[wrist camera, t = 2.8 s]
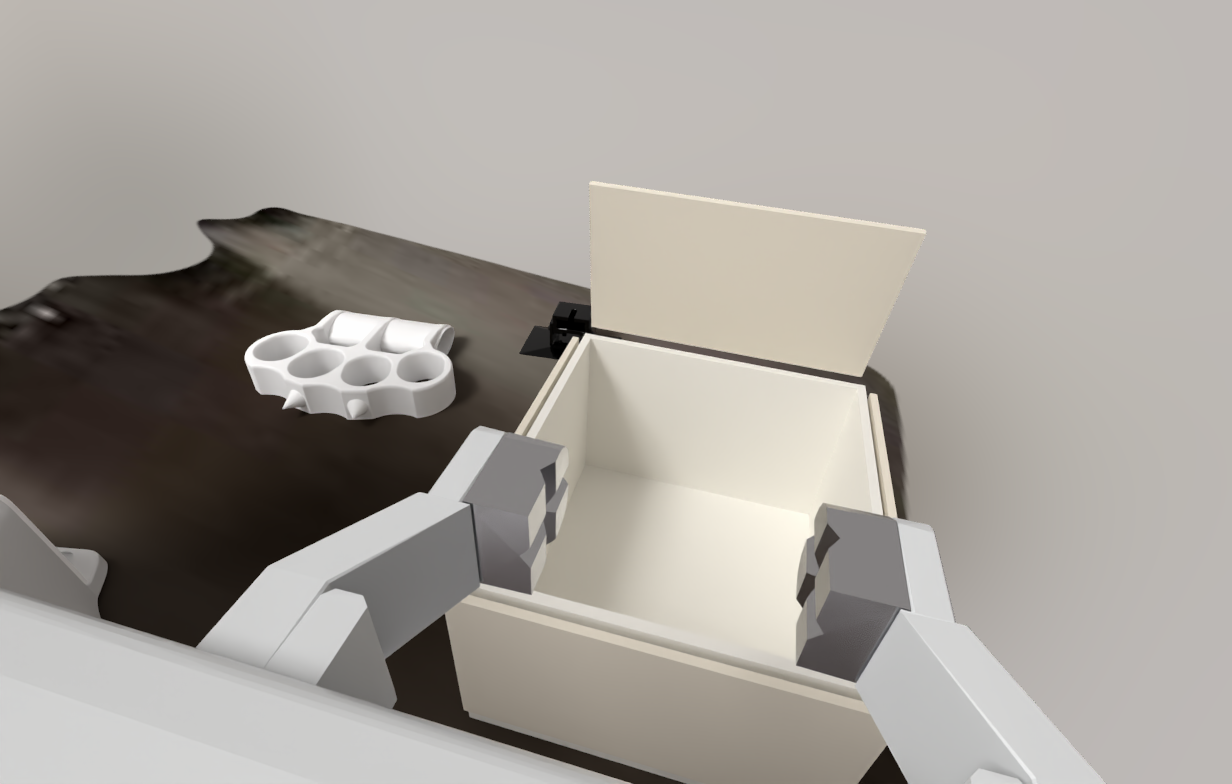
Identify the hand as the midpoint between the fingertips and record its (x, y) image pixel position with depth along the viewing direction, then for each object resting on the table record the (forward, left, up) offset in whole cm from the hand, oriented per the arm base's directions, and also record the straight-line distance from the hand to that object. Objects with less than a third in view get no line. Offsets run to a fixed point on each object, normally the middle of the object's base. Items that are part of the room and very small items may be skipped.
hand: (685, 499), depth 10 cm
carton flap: (0, +25, -8) cm, 27 cm away
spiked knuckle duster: (-31, +31, -27) cm, 51 cm away
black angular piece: (-15, +42, -27) cm, 52 cm away
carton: (0, +16, -26) cm, 31 cm away
